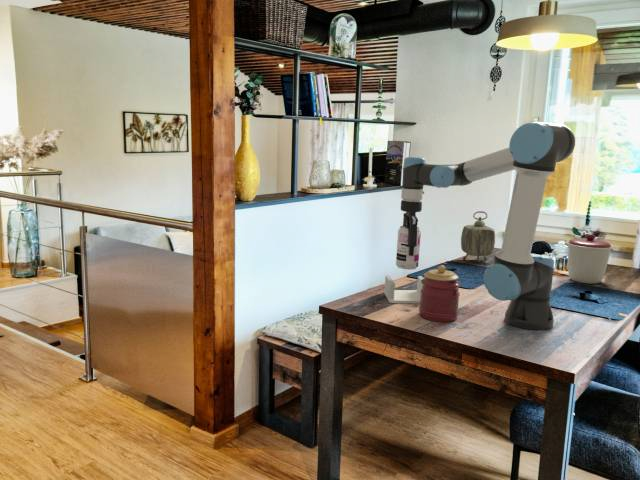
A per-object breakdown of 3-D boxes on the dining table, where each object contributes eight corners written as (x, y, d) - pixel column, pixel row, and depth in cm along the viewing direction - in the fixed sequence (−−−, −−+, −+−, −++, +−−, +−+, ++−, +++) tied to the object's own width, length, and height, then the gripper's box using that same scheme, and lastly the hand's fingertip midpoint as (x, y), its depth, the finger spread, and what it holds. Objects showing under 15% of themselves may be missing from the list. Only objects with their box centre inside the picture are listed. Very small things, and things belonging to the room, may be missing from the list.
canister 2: (568, 284, 235) (574, 235, 231) (558, 274, 253) (563, 228, 249) (614, 288, 232) (620, 238, 228) (600, 277, 250) (606, 231, 246)
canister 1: (429, 323, 180) (433, 270, 177) (412, 311, 192) (415, 261, 189) (465, 321, 183) (469, 269, 180) (446, 309, 196) (449, 260, 192)
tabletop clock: (487, 259, 279) (492, 210, 274) (494, 264, 270) (499, 213, 265) (459, 259, 278) (463, 209, 273) (465, 263, 269) (469, 212, 264)
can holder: (428, 303, 201) (429, 285, 200) (390, 303, 201) (391, 284, 200) (420, 292, 215) (421, 275, 214) (384, 292, 215) (385, 274, 213)
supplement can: (417, 265, 210) (420, 226, 207) (418, 270, 202) (421, 229, 199) (395, 264, 210) (398, 224, 208) (396, 269, 202) (398, 228, 199)
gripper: (428, 204, 191) (423, 268, 195) (415, 197, 212) (411, 255, 216) (407, 203, 191) (402, 267, 195) (396, 196, 211) (392, 254, 216)
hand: (407, 261), depth 206 cm, fingers closed on supplement can, 8 cm apart
